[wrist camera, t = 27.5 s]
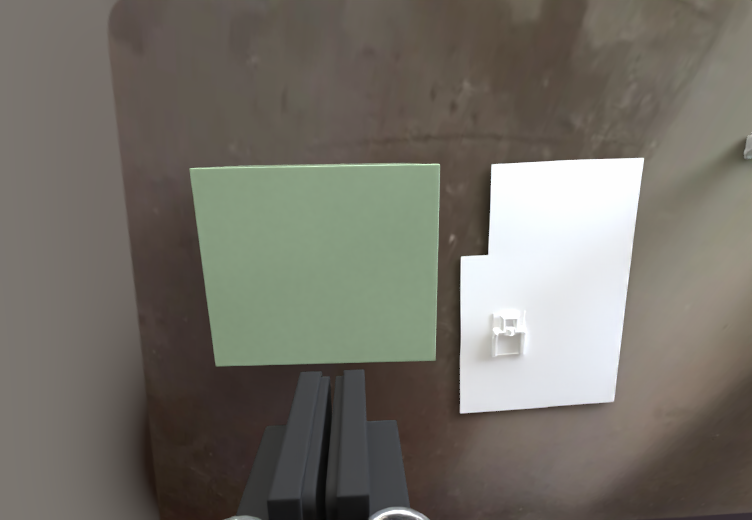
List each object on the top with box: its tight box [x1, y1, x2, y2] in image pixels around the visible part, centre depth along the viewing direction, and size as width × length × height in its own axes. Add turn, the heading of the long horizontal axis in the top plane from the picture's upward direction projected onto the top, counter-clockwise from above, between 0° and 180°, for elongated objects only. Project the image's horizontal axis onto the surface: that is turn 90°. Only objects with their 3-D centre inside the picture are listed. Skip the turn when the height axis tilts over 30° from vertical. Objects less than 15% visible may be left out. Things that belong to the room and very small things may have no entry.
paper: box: [460, 158, 644, 413], centre depth 36 cm, size 25×17×1 cm
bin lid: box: [190, 164, 440, 366], centre depth 24 cm, size 14×13×1 cm
